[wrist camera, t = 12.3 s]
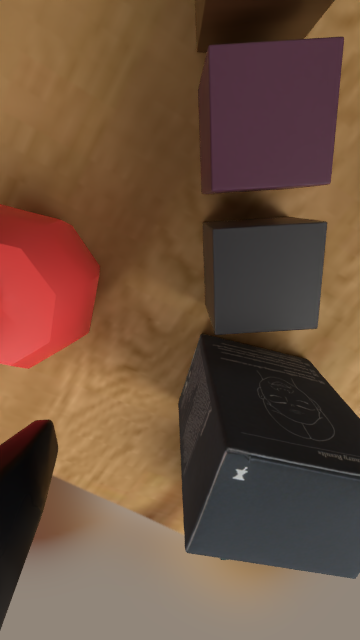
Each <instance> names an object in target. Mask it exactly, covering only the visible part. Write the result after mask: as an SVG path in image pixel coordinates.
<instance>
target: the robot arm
mask: <svg viewBox="0 0 360 640" xmlns="http://www.w3.org/2000/svg"><path fill="white" fill-rule="evenodd" d="M57 453H58V443H57V438H56V434H55V429H54V425H53V422H52V421H51V420H36V421H34V422H32V423H31V424H30V425H28V426H27V427H25V428H24V429H22V430H21V431H20V432H18V433H17V434H15V435H14V436H13V437H11V438H10V439H8V440H7V441H5V442H4V443H3V444H1V445H0V629H1V627H2V624H3V621H4V618H5V616H6V613H7V610H8V607H9V604H10V601H11V599H12V596H13V593H14V591H15V588H16V585H17V582H18V579H19V577H20V574H21V571H22V568H23V565H24V563H25V560H26V557H27V554H28V552H29V549H30V546H31V543H32V541H33V538H34V535H35V532H36V530H37V527H38V524H39V521H40V519H41V516H42V512H43V509H44V506H45V502H46V498H47V494H48V490H49V486H50V482H51V478H52V474H53V470H54V466H55V462H56V458H57Z"/></svg>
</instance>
